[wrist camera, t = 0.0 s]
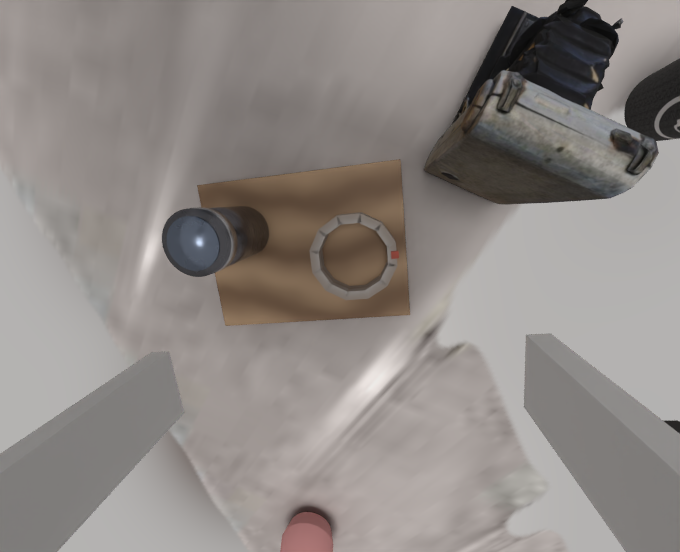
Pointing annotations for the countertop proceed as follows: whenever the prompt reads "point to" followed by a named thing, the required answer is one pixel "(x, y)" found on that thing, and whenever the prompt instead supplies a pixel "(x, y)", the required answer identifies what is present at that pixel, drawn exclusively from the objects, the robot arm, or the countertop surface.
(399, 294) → the mount board
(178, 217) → the lens
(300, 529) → the perfume bottle
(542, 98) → the vintage camera
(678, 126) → the coffee cup
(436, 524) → the countertop surface
